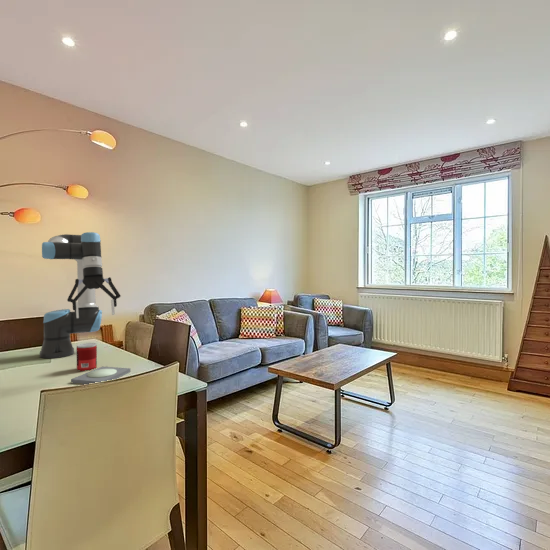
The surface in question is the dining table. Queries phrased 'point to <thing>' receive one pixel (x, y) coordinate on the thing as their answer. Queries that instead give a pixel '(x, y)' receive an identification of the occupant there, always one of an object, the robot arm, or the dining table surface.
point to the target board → (101, 375)
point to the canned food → (86, 356)
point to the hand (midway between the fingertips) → (96, 316)
